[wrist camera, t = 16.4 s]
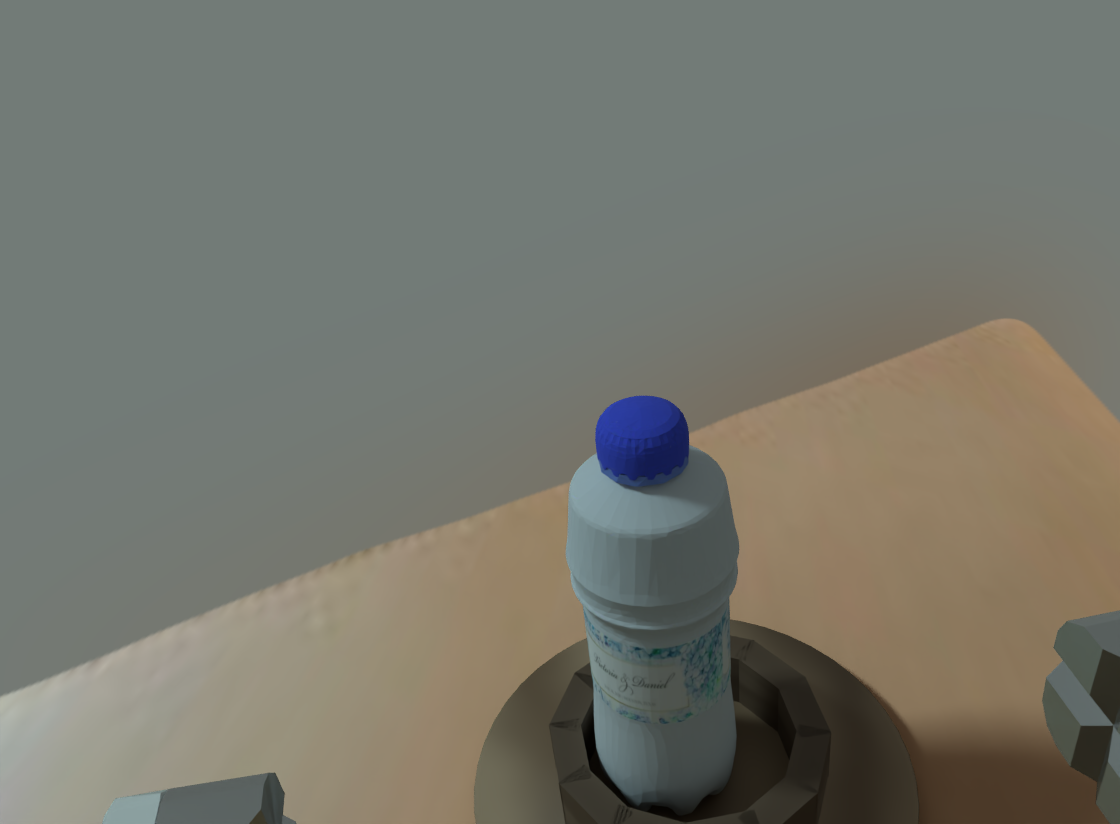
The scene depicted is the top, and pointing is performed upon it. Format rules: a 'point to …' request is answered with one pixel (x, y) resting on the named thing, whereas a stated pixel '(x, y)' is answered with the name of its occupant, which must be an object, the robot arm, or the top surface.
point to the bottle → (656, 604)
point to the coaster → (760, 758)
